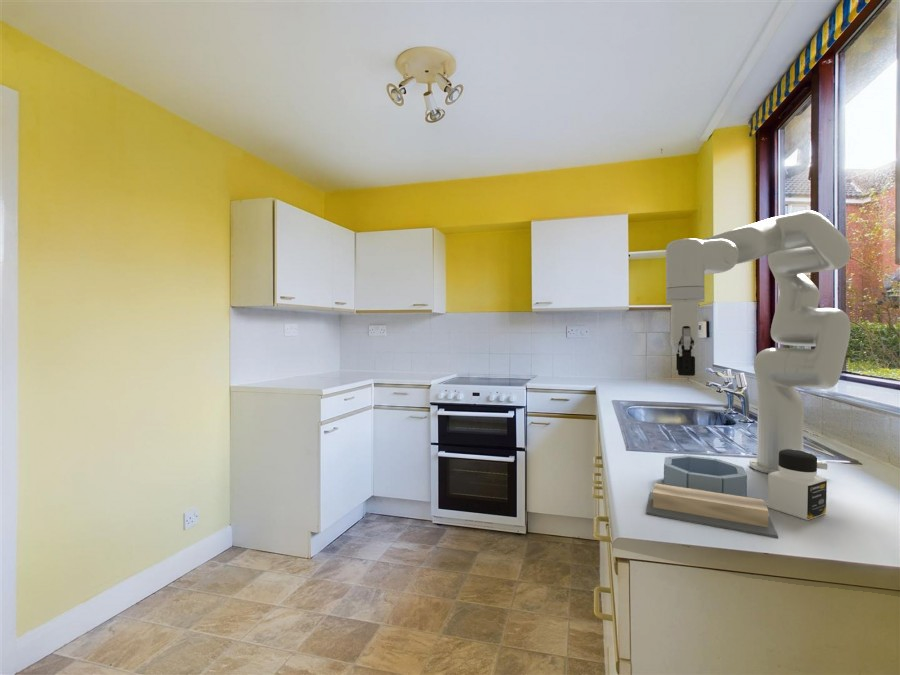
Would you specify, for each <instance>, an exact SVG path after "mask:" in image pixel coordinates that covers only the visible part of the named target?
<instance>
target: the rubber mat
mask: <svg viewBox="0 0 900 675" xmlns="http://www.w3.org/2000/svg"><path fill="white" fill-rule="evenodd" d="M647 500H648V502H647V507H646V515H649V516H651V515H652V516H657V517H662V518H668V519H673V520H679V521H683V522H684V521H685V522H689V523H690V522H691V523H694V524H695V523H696V524H700V525H705V526H711V527H712V526H713V527H716V528H717V527H718V528H721V529H728V530H732V529H733V531H738V530H740V531H739V532H743V531H745V532H744V533H749V532H750V534H755V535H760V536H765V535H766V537H771V538H776V539H777V538H779V534H778V533H777V530H776V528H775V526H774V524H773V522H772V519H771V517H770V516H769V518H768V527H763V526H758V525H752V524H746V523H740V522H735V521H729V520H723V519H717V518H712V517H706V516H700V515H695V514H689V513H683V512H677V511H672V510H666V509H660V508H655V507H653V491H650V492H649V495H648V499H647Z"/></svg>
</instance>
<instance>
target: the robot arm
mask: <svg viewBox="0 0 900 675" xmlns="http://www.w3.org/2000/svg"><path fill="white" fill-rule="evenodd" d="M851 250H852V249H851V246H850V243H849V241H848V240H847V238H846V237H845V236H844V234H842V232H841V231H839V230H838V228H837V227H836V226H835V225H834V224H833V223H832V222H831V221H830V220H829V219H828V218H826V217H825V216H824V215H822V214H821V213H819V212H817V211H814V210H803V211H802V210H801V211H798V212H793V213H788V214H785V215H780V216H779V215H778V216H773V217H770V218H766V219H764V220H760V221H757V222H753V223H751V224H748V225H744V226H742V227H737V228H735V229H731V230H728V231H724V232H721V233H719V234H716V235H713V236H712V235H711V236H709V237H706V238H702V239H699V238H683V239H682V238H681V239H676V240H673V241H670V242H669V243H668V244H667V245H666V249H665V284H666V285H665V286H666V287H665V298H666V300H665V304H671V307H670V345H671V347H673V348H676V345H677V353H676V356H675V357H676V360H675V362H676V364H675V365H676V371H677V374H678V376H685V377H686V376H687V377H688V376H689V377H690V376H691V377H692V376H693V377H694V376H695V375H696V356H695V347H697V345H698V338H699V337H698V336H699V335H698V334H699V332H698V331H699V303H704V302H705V299H706V298H705V275H713V274H722V273H726V272H728V271H730V270H732V269H733V268H734V267H735V266H736V265H739V264H743V263H744V264H745V263H749V262H753V261H755V260H758V259H761V258H763V257H766V256H767V264H768V267H769V269H770V271H771V273H772V275H773V277H774V279H775V281H776V284H777V286H778V291H779V295H778V298H777V299H778V300H777V304H776V307H775V311H774V315H773V319H772V323H771V328H770V337H771V339H772V340H773V341H774V342H775V343H776V344H779V345H782V346H783V345H784V346H794V347H770V348H765V349H762V350H761V351H759V352H758V353H757V354H756V355H755V357H754V360H753V370H754V375H755V380H756V385H757V386H756V387H757V427H756V428H757V429H756V430H757V431H756V434H757V435H756V458H753V459H751V460H749V466H750V468H752V469H753V470H756V471H759V472H761V473H764V474H767V475H768V474H769V473H772V472H776V471H780V470H779V469H778V464H779V452H780V451H781V450H785V449H796V450H802V451H804V424H805V423H804V421H805V420H804V418H805V417H804V416H805V405H804V401H803V398H802V396H801V395H800V393H799V392H798V391H797V389H796V388H798V387H799V388H806V389H807V388H808V389H816V390H817V389H818V390H828V389H831V388H833V387H835V386H836V385H837V383H838V382H839V380H840V379H841V375H842V371H843V368H844V363H845V358H846V355H847V352H848V348H849V343H850V338H851V334H852V333H851V330H852V328H851V325H852V324H851V321H850V317H849V316H848V314H846V312H845V311H844V310H842V309H839V308H835V307H834V308H833V307H819V303H820V299H821V292H820V290H819V288H818V287H817V285H816V284H815V283H814V282H813V281H812V280H811V279H810V278H809V277H808V276H807V275H806V274H807V273H808V274H809V273H810V274H811V273H817V272H829V271H835V270H839V269H841V268H843V267H845V266H846V265H847V264H848V263H849V262H850V258H851V255H852V254H851V253H852V251H851ZM795 346H796V347H797V348H796V347H795ZM798 346H799V347H814V348H798ZM818 469H819V470H824V471H825V470H828V462H827V461H823V460H818V459H817V470H818Z"/></svg>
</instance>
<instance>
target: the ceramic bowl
mask: <svg viewBox="0 0 900 675" xmlns="http://www.w3.org/2000/svg"><path fill="white" fill-rule="evenodd" d="M663 485H670V486H676V487H683V488H689V489H696V490H703V491H709V492H716V493H722V494H729V495H735V496H742V497H747V495H748V492H747V491H748V490H747V488H748V486H747V485H748V475H747V472H746V470H745V468H744V467H743V466H741V465H737V464H734V463H732V462H728V461H725V460H722V459H717V458H712V457H704V456H696V455H686V454H685V455H675V456H674V455H673V456H666V457H664V463H663Z"/></svg>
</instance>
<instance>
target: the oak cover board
mask: <svg viewBox="0 0 900 675" xmlns="http://www.w3.org/2000/svg"><path fill="white" fill-rule="evenodd" d="M653 486H654V487H653V491H652V492H653V507H655V508H660V509H666V510H672V511H677V512H683V513H689V514H695V515H700V516H706V517H712V518H717V519H723V520H729V521H735V522H740V523H746V524H752V525H758V526H763V527H768V518H769V517H770V515H769V514H770V513H769V509H768V506H767V505H766V503H765V501H764V499H761V498H754V497H749V496H748V497H742V496H735V495H729V494H722V493H716V492H709V491H703V490H696V489H689V488H683V487H676V486H670V485H664V483H663V484H662V483H656V482H654V485H653Z"/></svg>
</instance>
